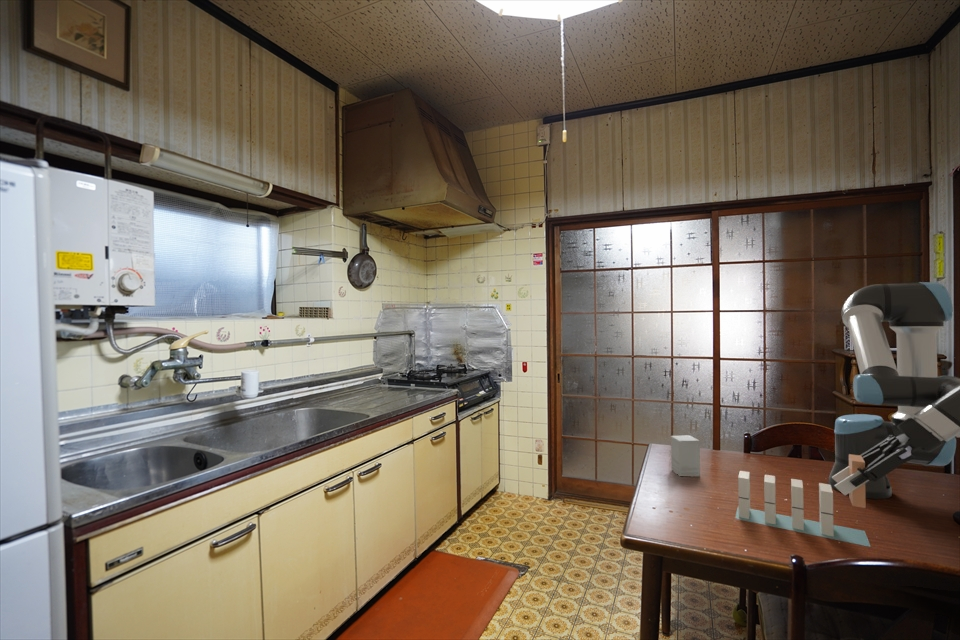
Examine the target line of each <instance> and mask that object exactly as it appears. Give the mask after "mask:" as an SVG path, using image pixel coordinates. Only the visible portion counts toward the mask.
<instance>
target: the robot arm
mask: <svg viewBox="0 0 960 640" xmlns="http://www.w3.org/2000/svg"><path fill="white" fill-rule="evenodd" d="M952 301H953V300H952V298H951V294H950V293H949V290H948V289H947V288H946V286H945V285H944V284H942V283H939V282H931V281H930V282H929V281H928V282H925V281H922V282H921V281H919V282H906V283H905V282H903V283H902V282H901V283H880V284H879V283H878V284H877V283H876V284H870V285H867V286H863V287H861V288H860V289H858V290H856V291H854V292H853V293H852V294H851V295H850V296H849V297H848V298H847V299H846V300H845V301H844V304H843V305H842V308H841V314H840V315H841V319H842V323H843V325H844V326H845V327H847V328H848V330H849V334H850V339H851V342H852V346H853V350H854V354H855V358H856V361H857V362H856V363H857V366H858V370H859V374H855V375H854V377H853V380H852V381H853V383H852V390H853V397H854V399H855V400H856V401H857V402H858V403H862V404H869V405H874V406H875V405H876V406H893V407H894V406H895V407H897V411H896V412H895V413H893V414H891V420H890V421H885V420H884V419H883V417H882V416H880V415H875V414H869V413H868V414H866V413H865V414H864V413H860V414H858V413H854V414H845V415H841V416H839V417H837V418H836V419H835V422H834V432H833V433H834V443H835V444H834V451H835V452H834V454H835V455H834V456H835V457H834V458H835V459H834V461H835V462H834V463H833V466H832V469H831V471H830V473H829V476H828V484H829V485H831V488H832V489H833V490H836V491H838V492H841V494H843V496H847V495H849V493H850V492H852V491H853V490H855V489H857V488H858V487H860V486H861V485H863V484H865V498H866V499H875V500H877V499H878V500H881V499H882V500H884V499H889V498H891V497H892V496H893V495H892V490H893V489H892V486H891V483H890V481H889V478H888V476H887V475H888V474H890V473H891V472H893V471H894V470H895V469H897V468H899V467H900V466H902V465H903V464H906V463H911V464H918V465H923V466H938V467H941V466H942V467H943V466H947V465H949V464H950V463H951V462H952V460H953V459H954V457H955V454H956V448H957V438H960V377H957V376H951V375H939V376H938V349H937V347H938V344H937V342H938V341H937V333H938V332H940V331H941V330H942V329H943V328H944V324H945V323H947V322H950V320H952V318H953V312H954V309H953V308H954V306H953V302H952ZM882 322H883V323H884V322H885V323H886V322H888V323H889V328H890V329H891V330H892V331H894V333H895V334H896V361H895V360H894V356H893V352H892V350H891V347H890V345H889V344H890V343H889V341H888V338H887V335H886V332H885V330H884V326H883V323H882ZM944 322H945V323H944ZM895 362H896V363H895ZM849 454H852V455H860V456H862V458H863V460H864V462H865V468H864V469H861V468H858V469H857V470H858V471H856V472H855V473H853V474H851V475H850V476H849Z"/></svg>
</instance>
